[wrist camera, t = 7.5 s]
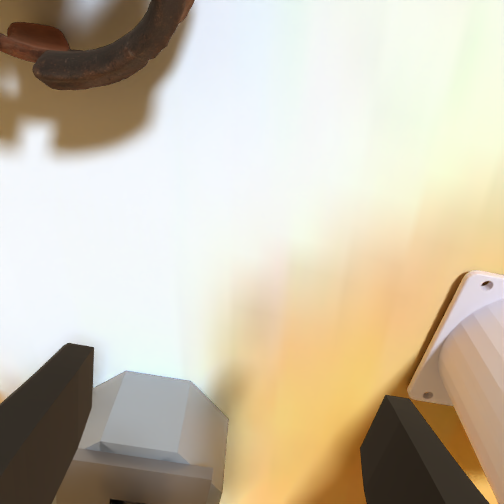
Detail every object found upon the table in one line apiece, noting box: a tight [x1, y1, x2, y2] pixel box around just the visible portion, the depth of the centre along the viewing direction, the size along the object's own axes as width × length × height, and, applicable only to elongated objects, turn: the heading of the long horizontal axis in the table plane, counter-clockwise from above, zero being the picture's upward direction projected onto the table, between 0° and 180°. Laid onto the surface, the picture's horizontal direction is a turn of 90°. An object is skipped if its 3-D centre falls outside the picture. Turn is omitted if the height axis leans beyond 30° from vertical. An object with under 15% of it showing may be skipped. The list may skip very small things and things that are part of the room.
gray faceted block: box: [52, 371, 229, 504], centre depth 24 cm, size 10×8×5 cm
